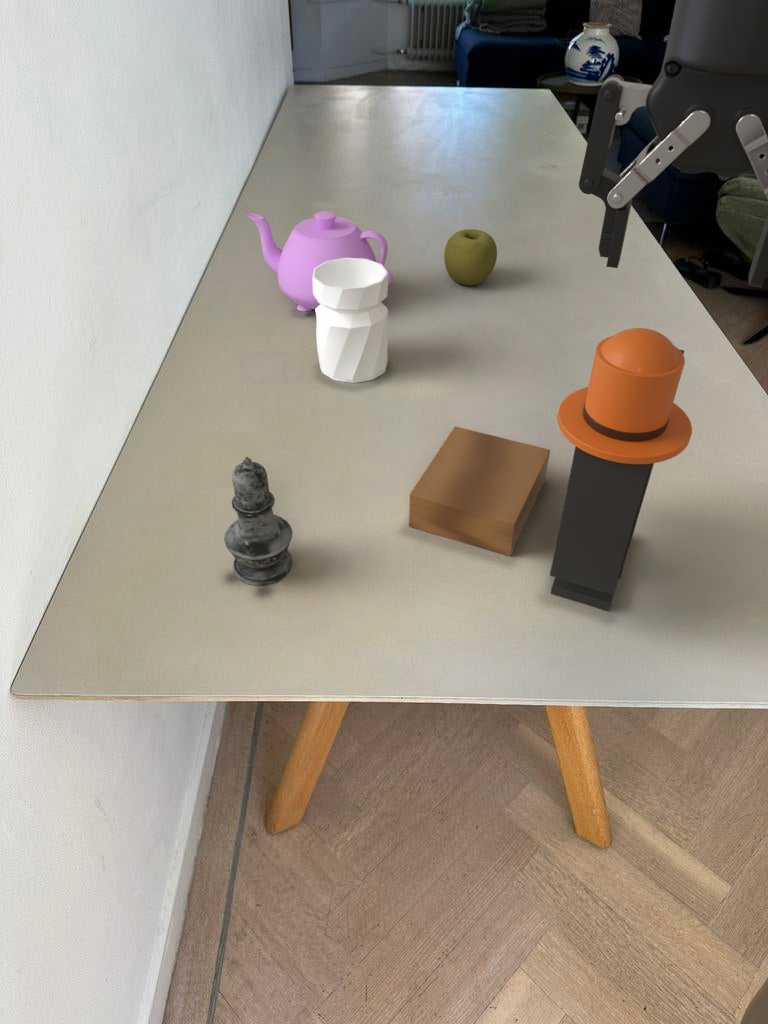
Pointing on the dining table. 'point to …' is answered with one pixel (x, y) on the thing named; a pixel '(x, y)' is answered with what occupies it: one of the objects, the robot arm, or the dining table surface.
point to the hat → (629, 401)
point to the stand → (479, 490)
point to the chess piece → (257, 529)
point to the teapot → (315, 252)
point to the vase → (351, 319)
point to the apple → (470, 256)
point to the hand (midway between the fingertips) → (682, 272)
